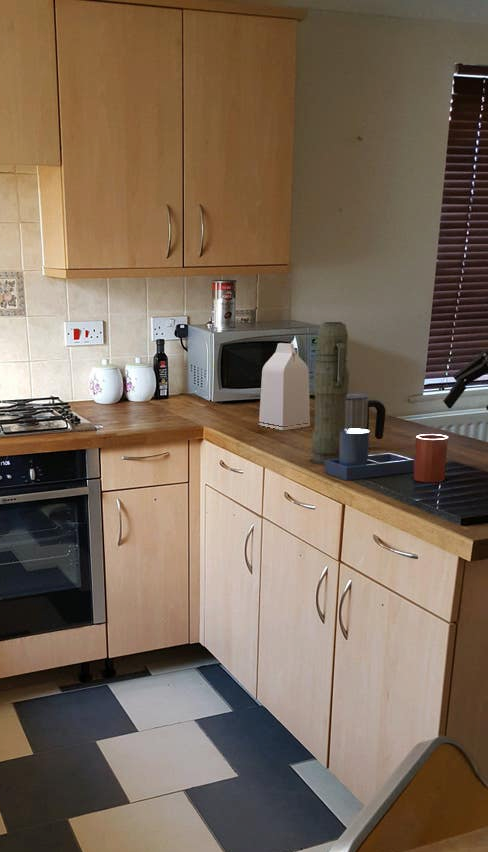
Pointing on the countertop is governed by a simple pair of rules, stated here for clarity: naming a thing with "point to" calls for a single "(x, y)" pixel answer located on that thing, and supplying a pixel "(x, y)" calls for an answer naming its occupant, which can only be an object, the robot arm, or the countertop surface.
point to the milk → (285, 390)
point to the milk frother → (364, 413)
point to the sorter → (371, 467)
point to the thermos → (330, 390)
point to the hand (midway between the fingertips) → (467, 408)
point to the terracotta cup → (430, 458)
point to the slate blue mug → (353, 447)
